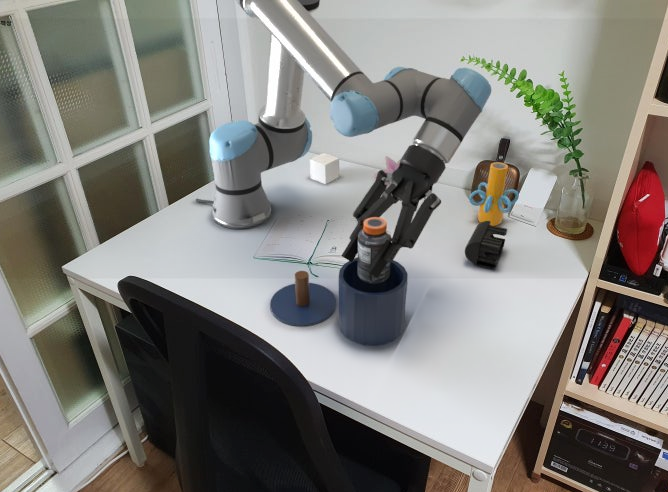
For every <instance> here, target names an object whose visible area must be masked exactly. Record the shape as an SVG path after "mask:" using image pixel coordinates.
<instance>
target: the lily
mask: <svg viewBox="0 0 668 492" xmlns="http://www.w3.org/2000/svg"><path fill="white" fill-rule="evenodd" d="M384 159H385V166H386V168H385V169H382V170H383V171H384V172H385V173H393V172H394V171H395V170H396V169H397V168H398V167H399V165H400V160H401V158H400V159H399V160H398V161H397V162H396V161H395V160H394V159H392V158H391V157H389V156H385V158H384ZM377 174H378V172H376V173H374V174H373V175H372V178H373V180H376V177H377ZM390 185H391V182H390ZM390 185H387V188H388V187H389V186H390ZM387 188H386V189H387Z"/></svg>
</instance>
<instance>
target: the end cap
mask: <svg viewBox="0 0 668 492" xmlns="http://www.w3.org/2000/svg"><path fill="white" fill-rule="evenodd" d="M490 222H491V221H483V222H481V223H480V222H479V223H478V224H477V225H476V227H475V228H474V231H473V232H472V235H471V236H470V238H469V240H468V243H467V244H466V246H465V248H464V255H465V257H466V259H467V260H468V261H469V262H470V263H472V264H473V265H474V266H476V267H479V268H483V269H487V270H490V271H491V270H492V271H494V270H496V268H497V266H498V263H499V261H500V259H501V256H502V254H503V251H504V247H505V243H506V238H503V237H505V236H507V233H508V228H506V227H502V226H497V225H496V226H491V225H490ZM495 235H498V236H502V238H501V237H497V236H495Z"/></svg>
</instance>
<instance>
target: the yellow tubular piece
mask: <svg viewBox="0 0 668 492" xmlns="http://www.w3.org/2000/svg"><path fill="white" fill-rule="evenodd" d="M508 170H509V165H508V164H507V163H505V162H499V161H496V162H492V163H491V164H490V167H489V172H488V178H487V183H486V182H480V183H479V184H478V187H477V189H476V190H474V191H472V192H471V193H470V194H469V196H468V201H469V203H470V205H472V206H475V207H478V206H479V208H478V215H477V220H478V222H479V223H481V222H483V221H491V222H490V225H491V226H496V227H497V226H500V225H501V224H502V222H503V218H504V214H508V213H509V212H511V209H512V205H514V204H515V203H516V202H518V200H519V197H520V196H519V192H518V191H517V190H516V189H514V188H511V189H507V190H505V184H506V180H507V175H508ZM483 186H484V187H485V191H484V190H482V187H483ZM511 193H513V194H514V195H515V197H514V199H513V200H510V198H509V197H508V196H507V195H508V194H511ZM477 194H478V196H479V197H480V198H481V199H482V200H480V201H478V202H475V201H474V200H473V197H474V196H475V195H477ZM505 205H506V206H507V208H505Z"/></svg>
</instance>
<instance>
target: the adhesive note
mask: <svg viewBox="0 0 668 492" xmlns="http://www.w3.org/2000/svg"><path fill="white" fill-rule="evenodd" d="M309 173H310V174H309V175H310V176H309V177H310V179H311V180H313V181H316V182H319V183H321V184H323V185H328V184H329V183H331V182H333V181H335V180H337V179H339V178H340V157H337V156H334V155H331V154H328V153H326V152H323V153H320V154H318V155H316V156H314V157H312V158H310V159H309Z"/></svg>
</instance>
